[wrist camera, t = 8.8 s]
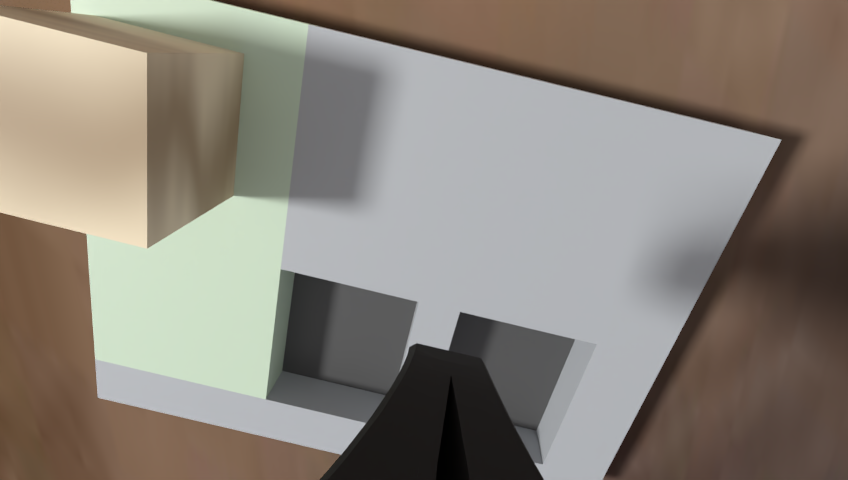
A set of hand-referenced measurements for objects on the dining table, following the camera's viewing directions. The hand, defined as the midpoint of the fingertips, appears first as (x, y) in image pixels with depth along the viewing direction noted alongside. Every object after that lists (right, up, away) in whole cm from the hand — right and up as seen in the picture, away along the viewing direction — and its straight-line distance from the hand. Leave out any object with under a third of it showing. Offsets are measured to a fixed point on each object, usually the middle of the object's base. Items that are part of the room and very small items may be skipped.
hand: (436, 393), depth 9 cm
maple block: (-8, +7, +6) cm, 12 cm away
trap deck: (-2, +2, +9) cm, 10 cm away
